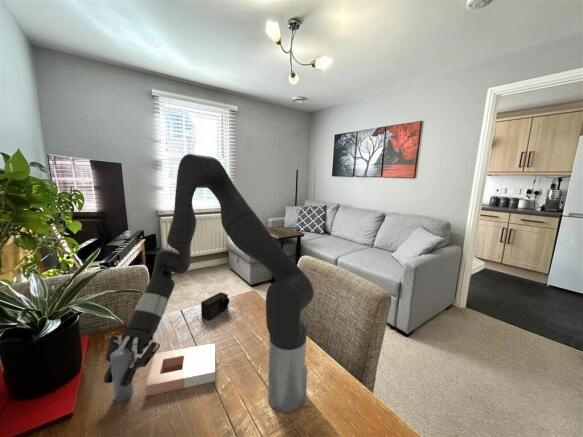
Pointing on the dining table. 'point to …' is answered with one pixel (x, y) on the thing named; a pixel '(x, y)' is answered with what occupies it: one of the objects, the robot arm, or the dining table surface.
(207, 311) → the digital camera
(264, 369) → the dining table surface
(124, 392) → the pin
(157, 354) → the block
